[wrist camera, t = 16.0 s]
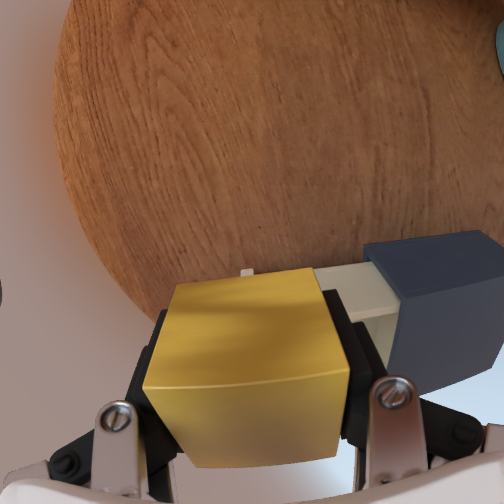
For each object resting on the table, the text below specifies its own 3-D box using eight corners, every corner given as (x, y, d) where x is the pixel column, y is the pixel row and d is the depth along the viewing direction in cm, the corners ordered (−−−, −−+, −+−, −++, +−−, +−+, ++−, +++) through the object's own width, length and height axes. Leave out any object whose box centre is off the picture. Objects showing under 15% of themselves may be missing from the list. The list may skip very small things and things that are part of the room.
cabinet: (355, 346, 34) (379, 407, 25) (363, 244, 28) (406, 298, 19) (456, 322, 33) (491, 368, 25) (478, 229, 27) (530, 267, 19)
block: (206, 373, 12) (195, 468, 8) (176, 283, 10) (140, 387, 6) (315, 361, 12) (336, 457, 7) (312, 266, 10) (351, 369, 6)
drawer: (214, 365, 33) (208, 419, 26) (188, 275, 28) (172, 327, 21) (376, 344, 33) (398, 392, 26) (388, 250, 27) (425, 293, 20)
